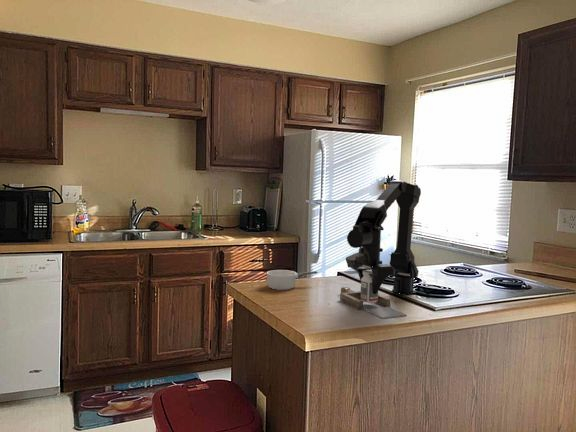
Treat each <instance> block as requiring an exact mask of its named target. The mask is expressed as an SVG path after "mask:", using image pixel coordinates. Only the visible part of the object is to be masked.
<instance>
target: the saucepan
mask: <svg viewBox="0 0 576 432" xmlns="http://www.w3.org/2000/svg"><path fill="white" fill-rule="evenodd" d="M313 274H314V275H315V274H318V271H317V270H315V271H305V272H303V271H302V272H299V273H298V272H296V271H294V270H288V269H272V270H268V271H266V286H267V287H269V288H270V289H271V288H272V290H275V289H276V291H288V290H291V289H293V288H296V282H297V281H296V279H300V278H302V277H303V276H305V275H313Z"/></svg>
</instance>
